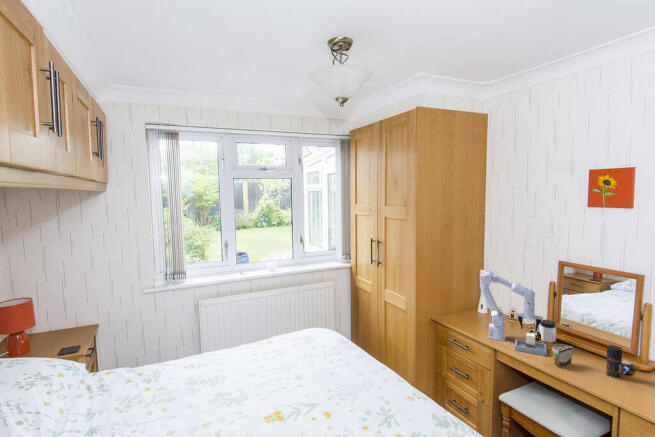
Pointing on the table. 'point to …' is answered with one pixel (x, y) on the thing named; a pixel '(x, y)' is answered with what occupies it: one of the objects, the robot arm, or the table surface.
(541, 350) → the tote
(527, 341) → the white cube
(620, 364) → the deodorant
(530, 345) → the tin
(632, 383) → the table surface
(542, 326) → the jar
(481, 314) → the table surface
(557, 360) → the food container
